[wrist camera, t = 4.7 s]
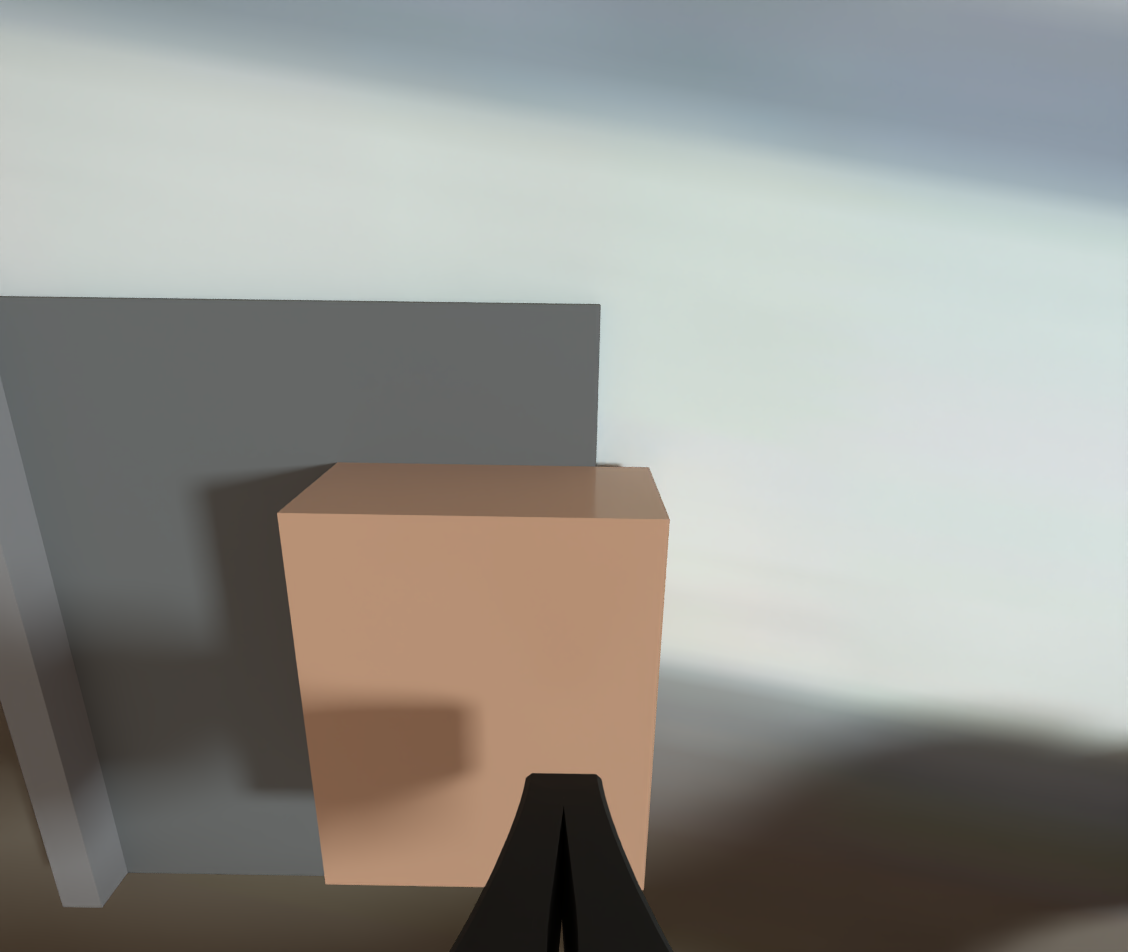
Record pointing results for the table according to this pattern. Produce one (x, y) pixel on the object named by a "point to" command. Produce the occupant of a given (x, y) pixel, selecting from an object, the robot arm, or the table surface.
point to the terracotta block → (471, 655)
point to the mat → (218, 541)
